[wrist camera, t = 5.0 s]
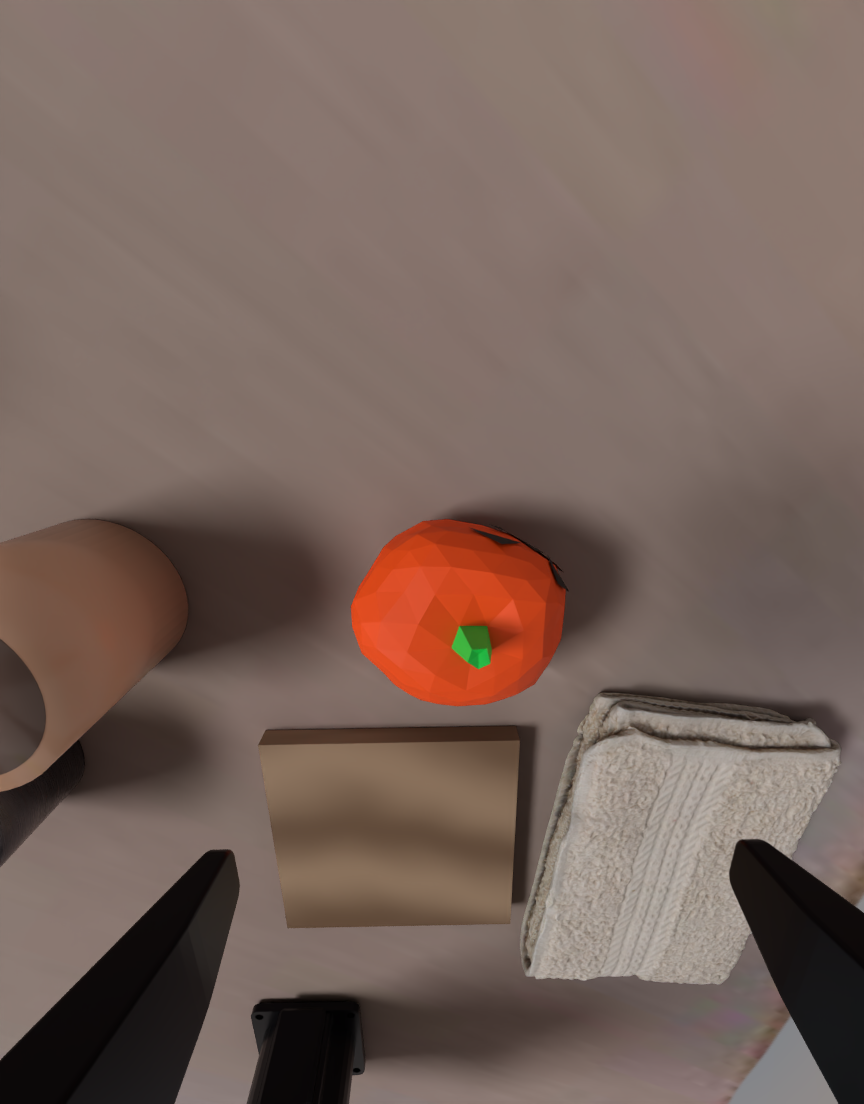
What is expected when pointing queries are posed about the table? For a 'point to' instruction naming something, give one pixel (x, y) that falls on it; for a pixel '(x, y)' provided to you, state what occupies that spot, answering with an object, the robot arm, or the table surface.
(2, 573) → the terracotta cup
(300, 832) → the walnut board
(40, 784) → the black metal can
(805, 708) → the table surface
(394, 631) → the pumpkin
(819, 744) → the washcloth
